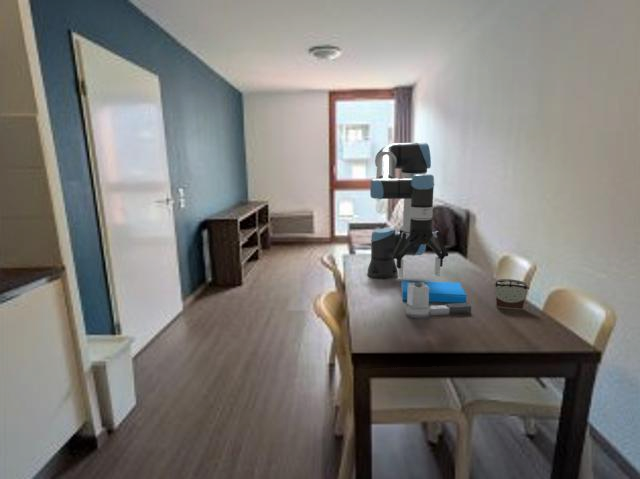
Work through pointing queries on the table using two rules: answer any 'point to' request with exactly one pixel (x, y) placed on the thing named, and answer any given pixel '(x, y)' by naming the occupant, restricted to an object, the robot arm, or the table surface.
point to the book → (440, 291)
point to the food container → (510, 293)
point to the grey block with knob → (418, 295)
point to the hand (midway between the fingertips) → (419, 276)
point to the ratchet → (439, 310)
